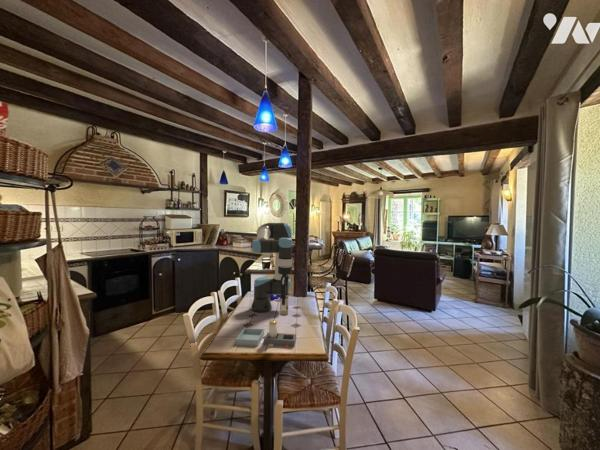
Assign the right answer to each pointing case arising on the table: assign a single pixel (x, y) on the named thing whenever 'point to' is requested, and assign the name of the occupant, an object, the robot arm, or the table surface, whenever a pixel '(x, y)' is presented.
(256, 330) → the parts tray
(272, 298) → the cable clip
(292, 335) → the fuse block
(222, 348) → the table surface
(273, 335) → the fuse
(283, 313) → the fuse
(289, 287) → the robot arm
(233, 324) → the table surface
